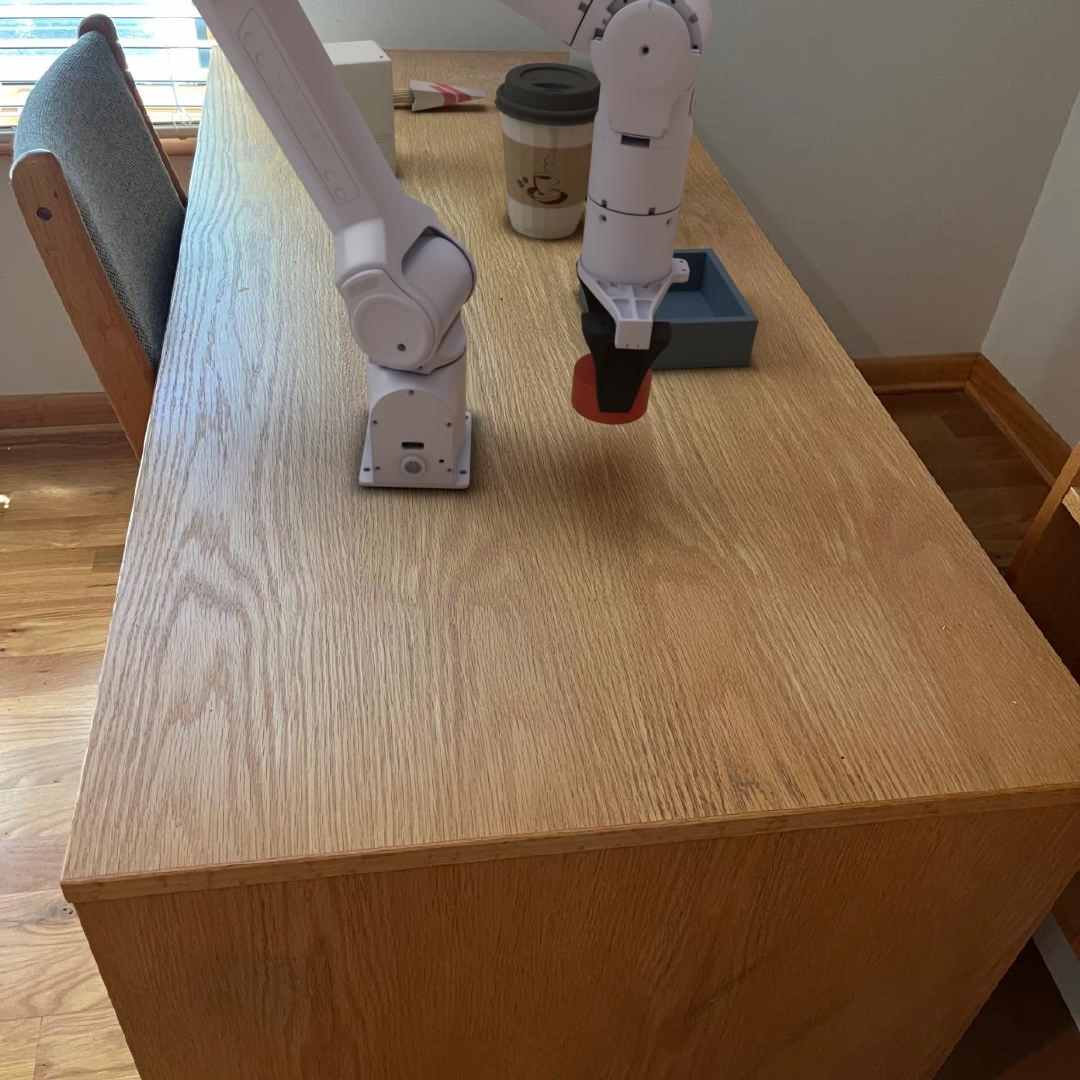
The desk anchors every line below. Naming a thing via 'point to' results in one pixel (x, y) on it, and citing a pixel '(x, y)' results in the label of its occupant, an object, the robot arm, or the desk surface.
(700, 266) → the bin
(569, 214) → the coffee cup
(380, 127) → the white packaging box
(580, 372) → the red cylinder
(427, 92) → the paintbrush
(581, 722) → the desk surface
